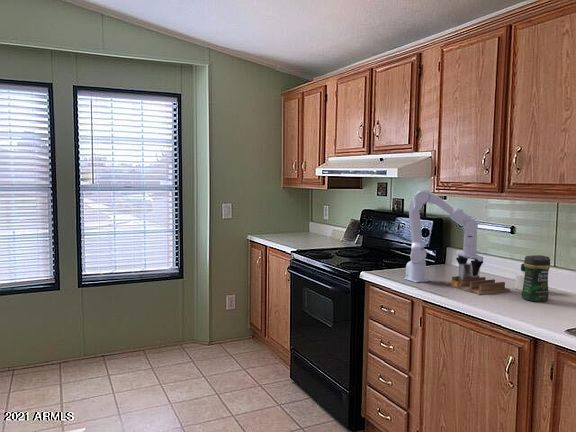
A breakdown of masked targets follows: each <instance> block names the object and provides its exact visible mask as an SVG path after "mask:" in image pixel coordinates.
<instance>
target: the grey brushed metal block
mask: <svg viewBox="0 0 576 432" xmlns="http://www.w3.org/2000/svg"><path fill="white" fill-rule="evenodd" d="M480 273H481V268H480V269H479V271H478V275H477V276H473V273H472V263H471V262H467V263H465V264H458V282H460V284H461V279H468V278H478V277H481V274H480Z"/></svg>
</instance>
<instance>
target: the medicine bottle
mask: <svg viewBox="0 0 576 432" xmlns="http://www.w3.org/2000/svg"><path fill="white" fill-rule="evenodd" d="M524 277H525V267H524V262H523V263H521V265H520V273H519V272H518V273H516V274H515V286H514V287H515V290H519V291H521V292H522V290H523V284H524Z"/></svg>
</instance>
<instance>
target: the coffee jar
mask: <svg viewBox="0 0 576 432" xmlns="http://www.w3.org/2000/svg"><path fill="white" fill-rule="evenodd" d="M523 263H524V267H525V277H524V284H523V290H522V291H521V297H522V299H523V300H525V301H529V302H530V301H531V302H538V303H539V302H547V301H548V300H549V271H550V268H551V259H550V257H549V256H546V255H539V254H538V255H537V254H536V255H526V256H525V257H524V262H523Z"/></svg>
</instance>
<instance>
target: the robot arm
mask: <svg viewBox="0 0 576 432" xmlns="http://www.w3.org/2000/svg"><path fill="white" fill-rule="evenodd" d="M427 203H428V204H432V205H436V206H438V207H439V208H440V209H442V210H443V211H445V212H446V213H448V214H449V218H450V219H451V220H452V221H454V222H455V223H456V224H458V225H459V226H460V227H463V229H464V235H463V246H462V247H463V250H462V251H463V252H461V251H459V252H458V251H457V252H456V262H457V263H458V265H459V264H465V263H468V260H470V263H472V273H473V276H477V275H478V271H479V269H480V270H481V267H482V265H483V263H484V257H483V256H481V255H479V254H478V253H477V247H478V230H477V229H478V227H479V224H478V222H477V220H476V219H475V218H473V217H472V216H471V215H468V214H467V213H465V212H464V210H463V209H462V208H454V207H453V206H451V205H450V204H449V203H448V202H446V201H445V200H443V198H441V197H440V196H439V195H437V194H435V193H433V192H431V191H430V190H428V189H419V190H418V191H417V192H416V193H415V194H414V195H413V197H412V199H411V201H410V203H409V205H408V214H409V215H408V217H409V225H410V226H409V227H410V235H411V246H410V247H411V248H410V249H411V251H410V255H409V257H410V261H408V262H407V263H406V265H405V277H404V280H408V281H410V282H414V283H425V282H430V280H429V279H427V278H426V272H427V271H426V269H427V267H426V266H427V263H426V262H427V261H426V260H425V259H426V258H427V251H426V249H425V245H424V242H423V235H422V225H421V224H422V223H421V216H420V215H421V214H420V210H421V208H423V207H424V205H426V204H427Z"/></svg>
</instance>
